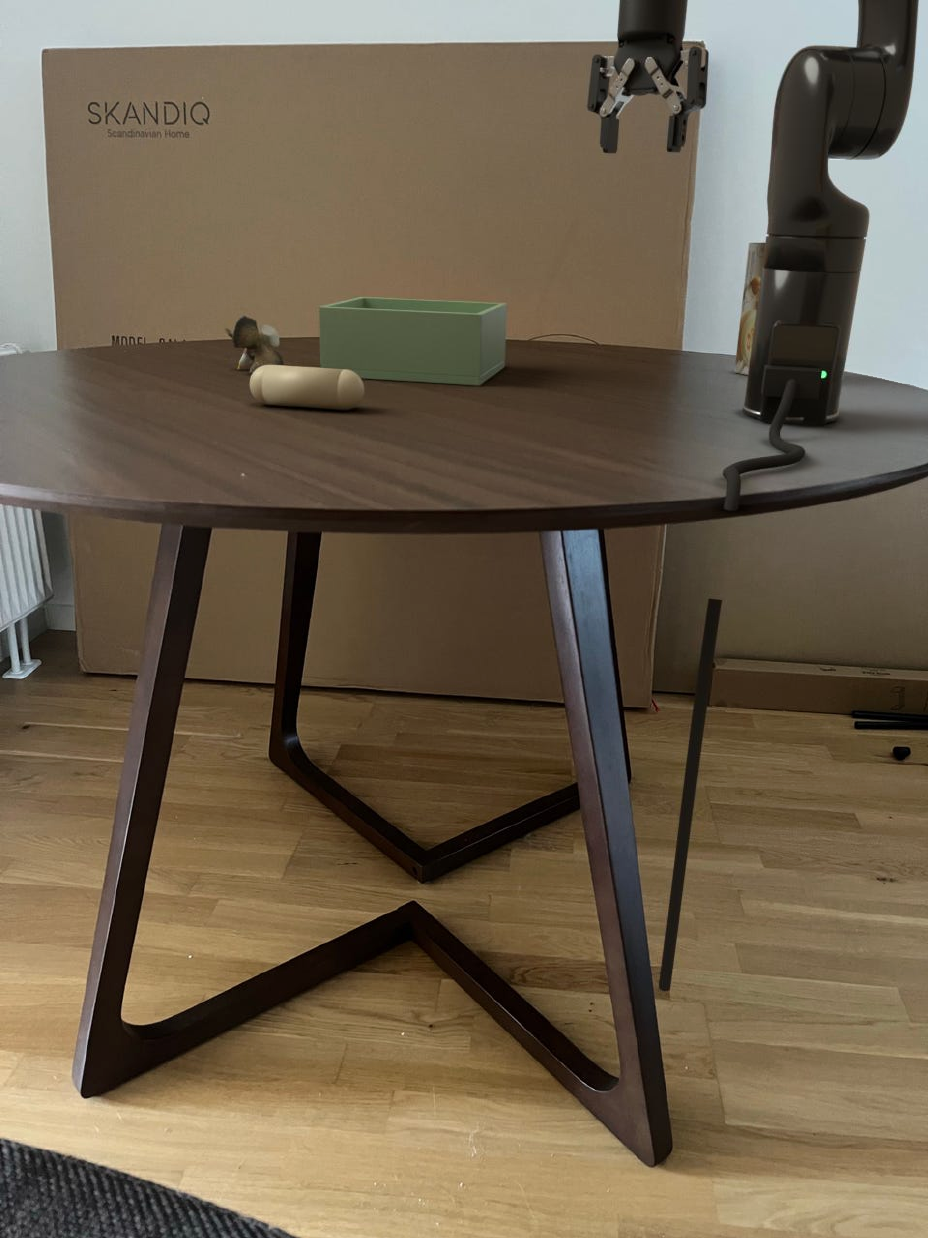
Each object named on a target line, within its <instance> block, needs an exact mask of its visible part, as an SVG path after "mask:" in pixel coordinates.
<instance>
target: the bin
mask: <svg viewBox="0 0 928 1238" xmlns="http://www.w3.org/2000/svg"><path fill="white" fill-rule="evenodd" d="M507 316H508V303H507V302H486V301H484V302H483V301H482V302H481V301H465V300H464V301H462V300H441V299H419V298H418V299H417V298H416V299H415V298H397V297H393V298H392V297H371V296H360V297H355V298H350V299H346V300H341V301H337V302H333V303H330V304H325V305H320V306H318V324H319V325H318V327H319V328H318V331H319V358H320V359H319V360H320V361H319V362H320V368H333V369H347V370H351V371H353V372H355V373H356V374H357V375H358V376H359V377H360V378H361V380H363V379H364V380H377V381H378V380H379V381H395V382H410V383H411V382H412V383H429V384H446V385H460V386H464V385H465V386H475V387H476V386H477V387H479V386H481V385H483V384H484V383H485V382H487V381H488V380H489V379H491V378H492V377H493V376H495V375H496V374H498V372H500V371H502V370H503V369H504V368H505V367H506V344H507Z"/></svg>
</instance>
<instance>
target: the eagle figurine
mask: <svg viewBox="0 0 928 1238" xmlns="http://www.w3.org/2000/svg"><path fill="white" fill-rule="evenodd" d="M224 330H225V333H227V335H228V337H229V338H231V340H232V343H233V348H235V349H240V348H241V349H244V350H243V352H242V356H241V357H240V359H239V361H238V367H237V368H236V369H237V371H240V369H242V368H244V367H245V366H246V365H247V364H248V363H249V362H250V361H252V365H251V367H250V369H249V373H251V374H253V372H254V371H255V370H256V369H257V368H259V367H261V366H264V365H283V366H285V365H284V360H283V356H282V355H281V354H280V353H279V352H278V351H277V350H275V348H278V347H279V346H280V343H281V342H280V336H279V333H278V331H277V329H276V328H274V327H273V326H271V325H269V324H267V323H263V324H262V325H261V330H260V332H259V328H258V322H257V320H256V319H253V318H250V317H247V316H246V315H242V316H241V317H239V319H237V321H235V325H234V328H233V331H232V330H230V329H229V328H228V327H224Z"/></svg>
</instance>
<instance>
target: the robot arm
mask: <svg viewBox="0 0 928 1238" xmlns="http://www.w3.org/2000/svg"><path fill="white" fill-rule="evenodd" d="M688 3H689V2H688V0H619V3H618V4H619V5H618V19H617V33H616V34H617V35H616V36H617V37H616V38H617V44H618V46H617V51H616V53H615V55H614V56H613V55H611V56H610V55H609V56H607V55H603V54H598V53H596V54H594V55H593V57H592V59H591V67H590V77H589V86H588V95H587V102H586V103H587V105H586V108H587V110H588V112H591V113H594V114H597V115H598V116H599V117H600V119H601V121H600V135H599V136H600V137H599V145H600V148H602V152H603V153H604V154H616V153H617V152H618V146H619V145H618V143H619V132H620V131H619V130H620V119H619V118H618V117H619V115H620V114H621V112H622V111H623V109H624V108H625V106H626V105H627V104H629V103H630V102H631V100H632V99H633V97H634V96H638V97H641V96H646V95H649V94H652V95H655V96H660V95H661V97H662V98H663V99H664V100H665V101H666V103H667V105H668V107H669V108H670V111H671V113H672V115H669V118H668V128H667V139H666V152H667V153H674V154H676V153H677V154H679V153H680V152H681V151H682V147H684V146H685V144H686V140H687V131H688V120H689V116H690V114H692V113H693V112H695V111H697V110H703V109H704V108H705V107H706V106H707V96H708V95H707V94H708V93H707V92H708V79H709V77H708V75H709V59H710V58H709V57H710V56H709V55H710V53H709V51H708V49H706V48H704V47H700V46H697V45H696V46H695V45H694V46H693V45H692V46H691V47H690V49H685V50H684V47H683V41H684V37H685V34H686V23H687V13H688ZM919 3H920V0H857V7H858V8H857V10H858V14H857V16H858V19H857V34H856V46H844V45H843V46H842V45H823V44H819V45H816V44H814V45H808V46H805V47H803V48H801V49H799V50H798V51H796V52H795V53H794V54H793V56H792V57H791V58H790V60H789V61H788V62H787V64H786V66H785V68H784V70H783V73H782V74H781V77H780V81H779V84H778V87H777V91H776V95H775V96H776V97H775V101H774V107H773V117H772V118H773V119H772V125H771V126H772V127H771V142H770V154H769V167H768V177H767V188H766V189H767V190H766V211H767V226H766V232H765V233H766V236H765V242H764V243H765V249H764V257H763V265H762V271H761V279H760V286H759V294H758V302H757V310H756V317H755V325H754V333H753V340H752V348H751V356H750V364H749V371H748V375H747V381H746V388H745V396H744V403H743V405H742V413H743V414H744V415H747V416H749V417H752V418H755V419H758V420H759V421H760V422H769V423H770V422H771V424H770V427H769V431H768V440H769V443H770V445H771V446H772V447H773V448H775V449H776V450H778V451H780V452H783V453H782V454H775V455H769V456H760V457H754V458H748V459H743V460H740V461H739V460H738V461H736V462H734V463H732V464H730V465H728V466H726V467H725V468H724V469H723V470H722V476H723V477H724V479H725V480H726V491H725V497H724V498H725V499H724V503H723V504H724V505H723V509H724V510H726V511H737V510H739V505H740V500H741V499H740V498H741V491H742V479H741V475H742V474H745V473H748V472H753V471H761V470H767V469H775V468H781V467H787V466H791V465H795V464H797V463H800V462H801V461H802V460H803V459H804V458H805V455H806V450H805V448H804V447H803V446H801V445H799V444H795V443H790V442H787V441H785V440H783V439H782V437H781V432H782V428H783V425H784V423H786V424H787V423H788V424H802V425H816V426H817V425H818V426H825V425H826V424H827V423H830V422H831V423H832V422H835V421H837V420H838V417H839V406H840V399H841V394H842V388H843V382H844V375H845V368H846V362H847V357H848V351H849V344H850V338H851V332H852V326H853V319H854V314H855V307H856V302H857V296H858V291H859V285H860V284H859V283H860V279H861V272H862V266H863V260H864V255H865V249H866V242H867V239H866V238H867V236H868V232H869V227H870V226H869V225H870V216H871V215H870V214H871V213H870V209H869V208H868V206H866V205H865V203H863V202H861V201H859V200H856V199H854V198H853V197H850V196H849V195H847V194H845V193H844V192H843V191H842V190H840V189H839V188H838V187H837V185H835V184H834V182H833V181H832V179H831V177H830V174H829V173H830V172H829V160H831V161H832V160H834V161H835V160H837V161H875V160H878V159H880V158H882V157H883V156H884V155H886V154H887V153H888V152H889V151H890V150H891V149H892V147H893V146H894V145H895V144H896V142H897V140H898V139H899V136H900V134H901V132H902V130H903V126H904V124H905V122H906V118H907V114H908V110H909V107H910V100H911V94H912V89H913V82H914V74H915V73H914V71H915V58H916V47H917V46H916V45H917V31H918V17H919ZM683 65H684V68H685V70H686V71H687V83H686V94H685V90H684V88H683V86H682V84H681V82H680V81H679V79H678V77H677V75H678V73H679V72H680V70H681V68H682V66H683ZM614 70H615V71H616V73H617V75H618V76H617V77H616V79H615V81H614V82H613V84H612V85H611V87H610V81H611V76H612V75H614V73H615V71H614ZM609 88H610V89H609ZM722 604H723V599H717V598H708V600H707V607H706V613H705V621H704V626H703V627H704V628H703V634H702V641H701V647H700V655H699V663H698V670H697V677H696V686H695V690H694V691H695V692H694V700H693V707H692V714H691V715H692V716H691V721H690V722H691V723H690V730H689V740H688V746H687V753H686V762H685V771H684V778H683V786H682V787H683V788H682V795H681V803H680V804H681V805H680V810H679V820H678V827H677V836H676V845H675V851H674V852H675V853H674V861H673V869H672V876H671V884H670V885H671V886H670V892H669V893H670V894H669V901H668V910H667V916H666V926H665V932H664V933H665V934H664V942H663V949H662V956H661V957H662V958H661V964H660V965H661V966H660V974H659V980H658V989H659V990H660V991H662V992H669V991H670V990H671V985H672V979H673V970H674V963H675V956H676V947H677V940H678V931H679V924H680V919H681V908H682V901H683V895H684V894H683V893H684V886H685V879H686V871H687V863H688V856H689V855H688V854H689V846H690V840H691V832H692V823H693V816H694V807H695V799H696V792H697V783H698V776H699V769H700V762H701V761H700V760H701V752H702V748H703V747H702V746H703V739H704V730H705V723H706V716H707V710H708V709H707V708H708V702H709V701H708V700H709V694H710V686H711V680H712V673H713V666H714V659H715V658H714V657H715V652H716V645H717V638H718V631H719V623H720V617H721V611H722Z"/></svg>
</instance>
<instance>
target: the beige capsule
mask: <svg viewBox="0 0 928 1238" xmlns="http://www.w3.org/2000/svg"><path fill="white" fill-rule="evenodd" d="M283 365H284V364H283ZM283 365H264V366H261V367H259V368H257V369H256V370H255V371H254V372H253V373H251V375H250V379H249V389H250V392H251V395H252V396H253V397H254V398H255V400H256V401H257V402H259V403H261V404H263V405H266V406H267V405H268V406H276V407H277V406H279V407H291V408H293V407H294V408H309V409H324V410H337V411H349V410H353V409H354V408H356V407H357V406H359V404H361V402H362V401H363V399H364V396H365V385H364V382H363V379H361V378H360V377H359V376H358V375H357V374H356V373H355V372H353V371H351V370H347V369H333V368H321V367H315V366H301V365H300V366H298V365H295V366H294V365H284V366H283Z"/></svg>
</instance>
